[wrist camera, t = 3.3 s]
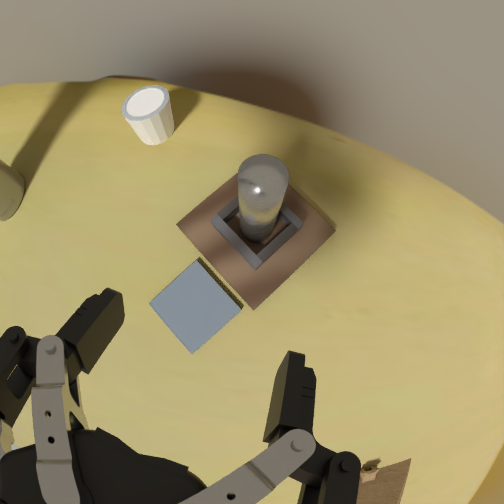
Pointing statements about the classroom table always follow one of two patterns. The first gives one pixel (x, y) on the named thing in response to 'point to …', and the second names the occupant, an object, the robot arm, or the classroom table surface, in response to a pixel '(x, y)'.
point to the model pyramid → (383, 484)
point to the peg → (260, 195)
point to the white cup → (150, 114)
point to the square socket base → (249, 253)
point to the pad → (194, 307)
